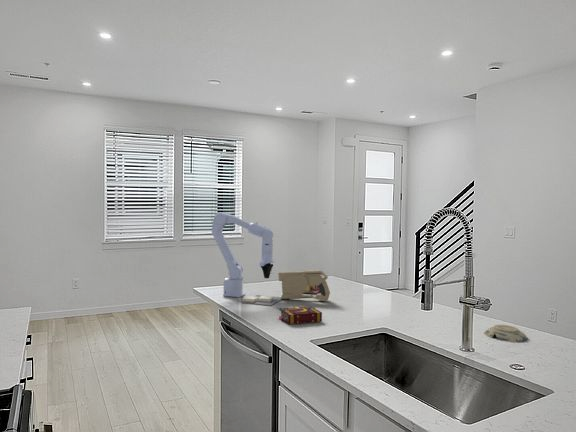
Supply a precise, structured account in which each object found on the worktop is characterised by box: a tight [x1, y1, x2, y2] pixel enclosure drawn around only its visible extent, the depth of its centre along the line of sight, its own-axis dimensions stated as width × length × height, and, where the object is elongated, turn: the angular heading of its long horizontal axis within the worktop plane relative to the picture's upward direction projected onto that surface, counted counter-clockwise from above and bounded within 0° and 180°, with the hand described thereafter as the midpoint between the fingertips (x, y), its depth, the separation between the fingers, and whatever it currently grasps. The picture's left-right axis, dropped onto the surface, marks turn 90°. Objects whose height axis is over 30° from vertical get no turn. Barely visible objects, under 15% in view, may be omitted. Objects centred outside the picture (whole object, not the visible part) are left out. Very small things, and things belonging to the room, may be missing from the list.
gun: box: [277, 269, 331, 303], centre depth 223 cm, size 25×3×16 cm, turn 84°
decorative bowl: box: [483, 324, 529, 343], centre depth 169 cm, size 15×4×15 cm
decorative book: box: [278, 305, 323, 326], centre depth 186 cm, size 11×16×5 cm
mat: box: [241, 294, 283, 307], centre depth 221 cm, size 15×18×1 cm
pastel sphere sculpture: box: [303, 285, 321, 294], centre depth 251 cm, size 25×24×9 cm
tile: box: [258, 295, 274, 302], centre depth 220 cm, size 6×2×6 cm
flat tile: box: [241, 295, 259, 303], centre depth 218 cm, size 6×6×2 cm
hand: (266, 278), depth 231 cm, fingers closed
